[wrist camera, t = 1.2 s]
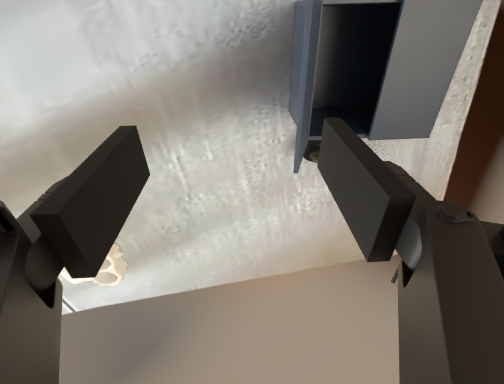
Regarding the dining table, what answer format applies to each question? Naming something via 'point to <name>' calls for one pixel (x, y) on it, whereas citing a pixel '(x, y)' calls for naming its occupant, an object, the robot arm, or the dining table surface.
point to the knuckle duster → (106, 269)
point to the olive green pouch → (312, 150)
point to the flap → (307, 77)
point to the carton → (382, 63)
